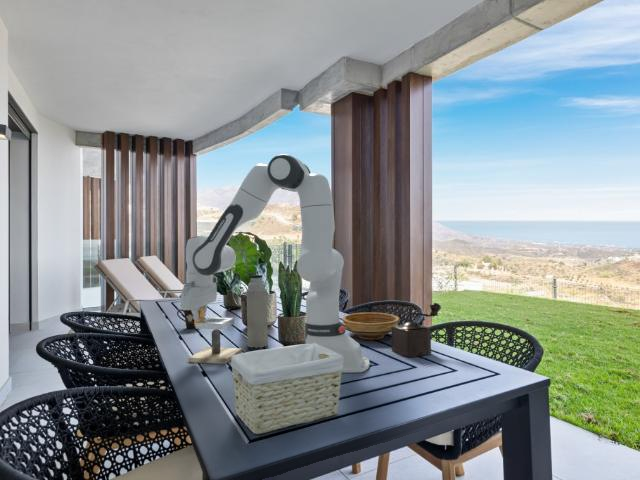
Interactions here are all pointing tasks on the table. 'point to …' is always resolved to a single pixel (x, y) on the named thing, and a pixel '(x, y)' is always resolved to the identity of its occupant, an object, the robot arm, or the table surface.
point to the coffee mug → (188, 318)
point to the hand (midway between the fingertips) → (199, 318)
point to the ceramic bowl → (370, 324)
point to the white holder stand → (212, 322)
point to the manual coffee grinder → (413, 335)
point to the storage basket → (286, 385)
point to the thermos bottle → (257, 312)
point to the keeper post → (215, 352)
